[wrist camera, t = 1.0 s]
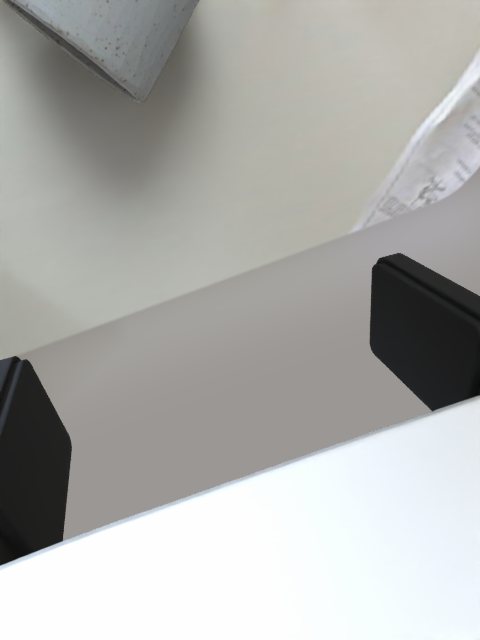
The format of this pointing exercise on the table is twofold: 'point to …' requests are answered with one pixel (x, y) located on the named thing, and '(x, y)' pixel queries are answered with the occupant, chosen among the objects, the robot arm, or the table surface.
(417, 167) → the table surface
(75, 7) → the ceramic mug
